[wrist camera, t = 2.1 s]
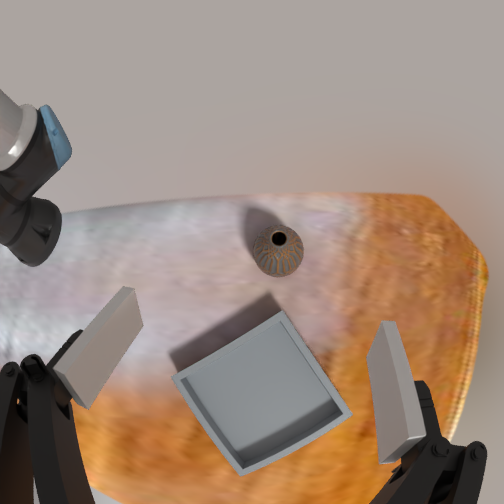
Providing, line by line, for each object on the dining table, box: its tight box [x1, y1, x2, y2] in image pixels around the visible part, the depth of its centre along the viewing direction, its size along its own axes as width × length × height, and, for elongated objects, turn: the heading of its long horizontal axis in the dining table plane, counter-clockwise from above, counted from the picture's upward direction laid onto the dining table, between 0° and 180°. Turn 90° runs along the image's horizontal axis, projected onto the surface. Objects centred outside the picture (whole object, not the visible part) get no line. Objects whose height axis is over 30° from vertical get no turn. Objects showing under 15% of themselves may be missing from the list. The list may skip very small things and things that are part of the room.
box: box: [171, 310, 353, 476], centre depth 34 cm, size 18×18×4 cm
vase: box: [253, 225, 304, 277], centre depth 37 cm, size 7×7×9 cm
